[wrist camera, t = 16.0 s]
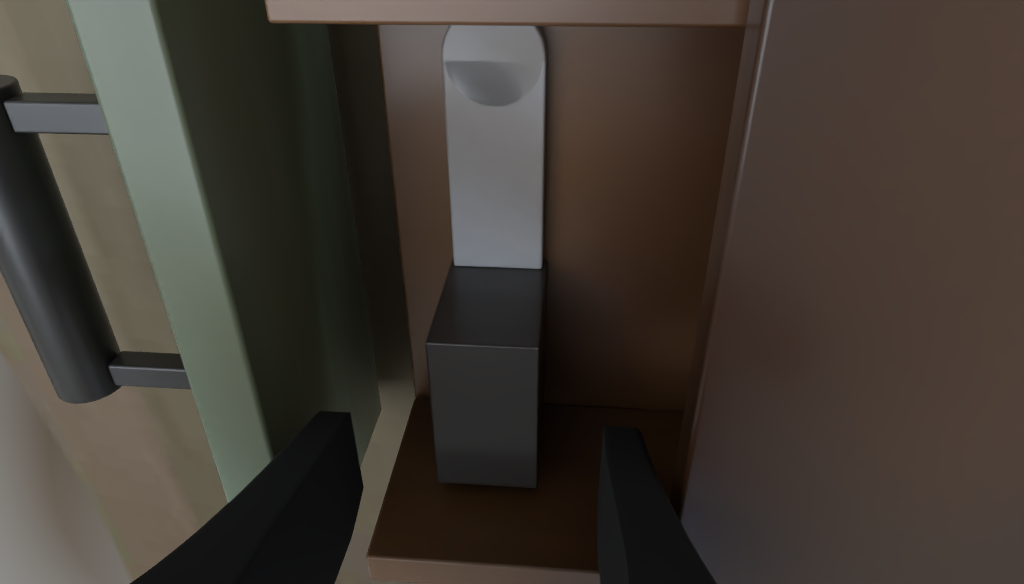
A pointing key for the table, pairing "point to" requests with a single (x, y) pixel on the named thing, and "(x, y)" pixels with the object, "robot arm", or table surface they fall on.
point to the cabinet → (864, 302)
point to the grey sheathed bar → (492, 260)
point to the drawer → (421, 231)
